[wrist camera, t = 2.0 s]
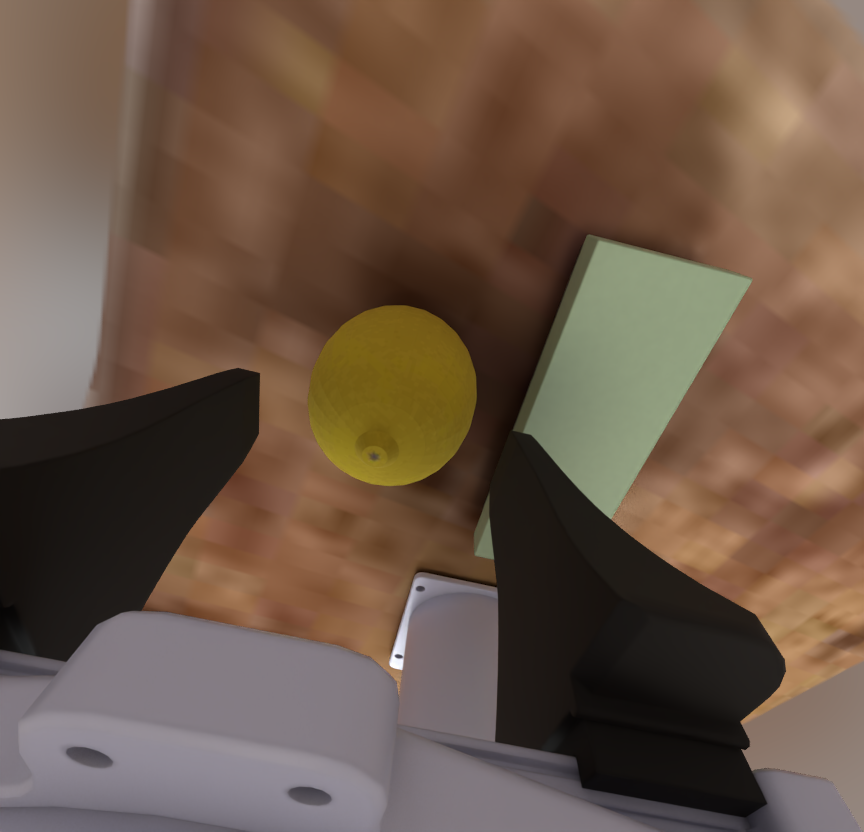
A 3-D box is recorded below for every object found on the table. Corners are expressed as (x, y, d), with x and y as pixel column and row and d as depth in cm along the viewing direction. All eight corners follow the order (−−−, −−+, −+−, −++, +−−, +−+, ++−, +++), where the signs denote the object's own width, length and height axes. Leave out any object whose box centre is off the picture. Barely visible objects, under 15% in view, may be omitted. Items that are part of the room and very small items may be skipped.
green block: (564, 531, 22) (577, 577, 20) (472, 511, 22) (473, 556, 20) (705, 261, 16) (754, 278, 13) (575, 228, 15) (598, 239, 13)
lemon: (497, 318, 17) (520, 415, 10) (440, 424, 20) (428, 559, 13) (369, 258, 16) (299, 319, 9) (328, 377, 19) (248, 494, 12)
